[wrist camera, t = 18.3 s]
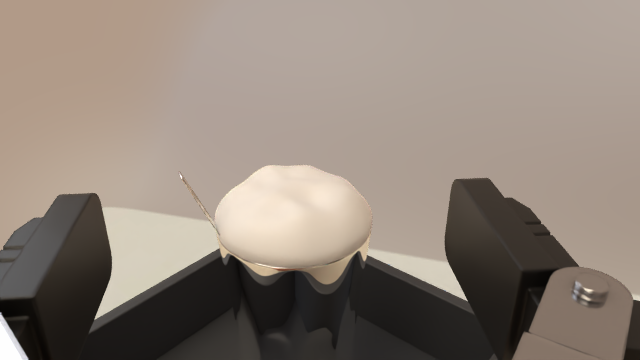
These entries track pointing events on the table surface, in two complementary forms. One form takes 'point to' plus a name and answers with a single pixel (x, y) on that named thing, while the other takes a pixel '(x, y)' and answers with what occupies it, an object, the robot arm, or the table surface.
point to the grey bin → (221, 333)
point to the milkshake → (293, 261)
